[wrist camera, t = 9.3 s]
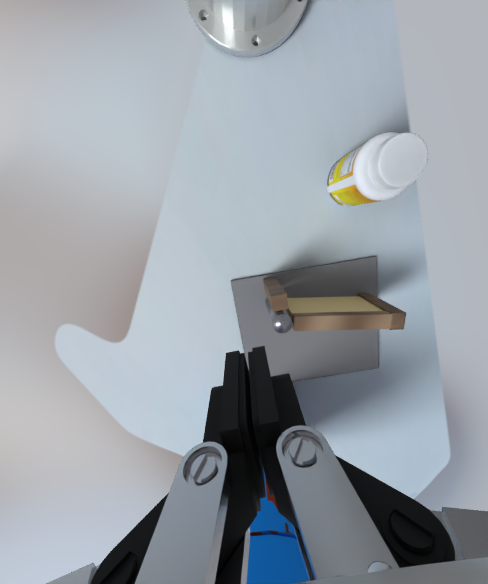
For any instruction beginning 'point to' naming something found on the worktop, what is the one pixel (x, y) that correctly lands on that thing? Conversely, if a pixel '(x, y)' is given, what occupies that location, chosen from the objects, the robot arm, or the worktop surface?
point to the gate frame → (307, 344)
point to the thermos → (273, 547)
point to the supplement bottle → (377, 169)
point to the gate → (336, 314)
